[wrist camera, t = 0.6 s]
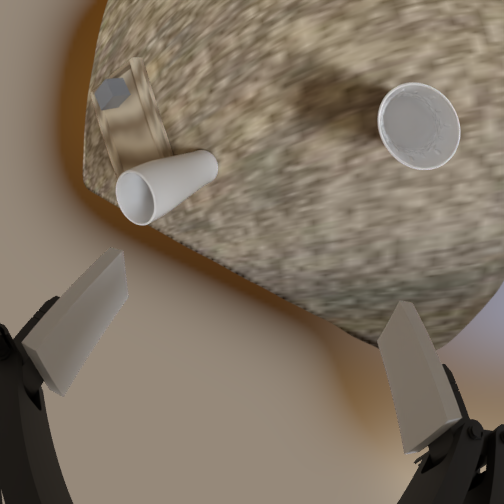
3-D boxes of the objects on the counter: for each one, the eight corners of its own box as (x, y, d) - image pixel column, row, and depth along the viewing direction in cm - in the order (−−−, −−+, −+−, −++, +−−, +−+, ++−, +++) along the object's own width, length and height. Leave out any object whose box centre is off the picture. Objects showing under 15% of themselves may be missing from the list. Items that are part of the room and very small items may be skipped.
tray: (99, 92, 41) (90, 93, 39) (142, 57, 34) (132, 57, 32) (128, 182, 48) (120, 186, 46) (176, 162, 42) (167, 166, 40)
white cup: (372, 146, 30) (373, 160, 22) (376, 85, 26) (379, 74, 18) (432, 159, 27) (453, 179, 19) (438, 98, 23) (463, 95, 15)
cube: (111, 91, 39) (94, 93, 36) (122, 77, 37) (105, 79, 33) (118, 107, 40) (101, 110, 37) (130, 94, 38) (113, 96, 35)
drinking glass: (216, 139, 37) (143, 162, 25) (229, 182, 40) (164, 222, 28) (181, 150, 40) (107, 178, 29) (194, 190, 43) (127, 229, 31)
